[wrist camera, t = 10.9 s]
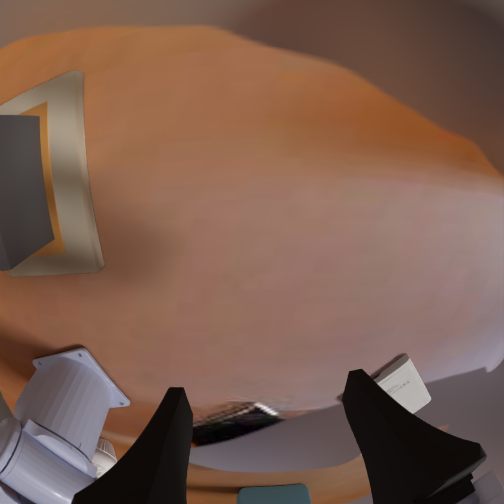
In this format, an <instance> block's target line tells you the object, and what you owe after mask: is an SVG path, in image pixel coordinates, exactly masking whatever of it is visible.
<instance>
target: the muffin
mask: <svg viewBox="0 0 504 504" xmlns="http://www.w3.org/2000/svg"><path fill="white" fill-rule="evenodd" d="M116 463H117V459H116V455H115V452H114V449H113V446H112V444H111V443H110V442H109V441H107V440H106V439H103V438H101V437H99V440H98V443H97V446H96V449H95V453H94V456H93V459H92V463H91V464H92V465H94V466H95V467H97V468H98V469H97V473H96V477H98V478H99V477H101V476H102V475H103V474H104V473H106V472H107V471H108V470H109V469H110V468H111V467H113V466H114V465H115V464H116Z"/></svg>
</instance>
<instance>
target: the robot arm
mask: <svg viewBox="0 0 504 504" xmlns="http://www.w3.org/2000/svg"><path fill="white" fill-rule="evenodd" d="M32 363H33V365H34V366H35V367H36V369H37V370H36V371H35V373H34V374H33V376H32V377H31V379H30V380H29V382H28V384H27V385H26V387H25V388H24V390H23V392H22V393H21V395H20V397H19V398H18V400H17V402H16V404H15V408H14V418H6V419H4V420H3V421H2V422H1V423H0V504H187V502H186V479H187V469H188V462H189V455H190V448H191V441H192V430H193V413H192V411H191V408H190V405H189V402H188V399H187V396H186V393H185V390H184V387H170V388H169V389H168V390H167V392H166V394H165V396H164V398H163V400H162V402H161V403H160V405H159V407H158V409H157V410H156V412H155V414H154V415H153V417H152V418H151V420H150V422H149V423H148V425H147V426H146V428H145V429H144V430H143V432H142V433H141V435H140V436H139V437H138V439H137V440H136V441H135V443H134V444H133V445H132V446H131V448H130V449H129V450H128V451H127V452H126V453H125V454H124V456H123V457H122V458H121V459H120V460H119V461H118V462H117V463H116V464H115V465H114V466H113V467H111V468H110V469H109V470H108V471H107V472H106V473H104V474H103V475H102V476H101V477H99V478H98V477H96V473H97V469H98V468H97V467H95V466H94V465H92V464H91V463H92V459H93V456H94V453H95V449H96V446H97V443H98V440H99V437H100V434H101V431H102V428H103V425H104V422H105V419H106V416H107V413H108V410H109V408H113V407H123V406H129V405H130V401H129V399H128V398H127V397H126V396H125V395H124V394H123V393H122V392H121V391H120V390H119V389H118V387H117V386H116V385H115V384H114V383H113V382H112V381H111V379H110V378H109V377H108V376H107V375H106V373H105V372H104V371H103V370H102V369H101V367H100V366H99V365H98V364H97V362H96V361H95V360H94V359H93V357H92V356H91V355H90V353H89V352H88V351H87V350H86V349H85V348H78V349H74V350H70V351H66V352H62V353H58V354H54V355H50V356H46V357H42V358H37V359H34V360H33V361H32ZM342 401H343V405H344V409H345V413H346V416H347V419H348V422H349V424H350V427H351V429H352V431H353V434H354V436H355V438H356V441H357V444H358V446H359V448H360V451H361V453H362V456H363V459H364V462H365V466H366V470H367V474H368V478H369V482H370V487H371V492H372V498H373V504H504V488H503V485H502V483H501V481H500V480H499V478H498V476H497V474H496V472H495V470H494V469H491V470H490V471H489V472H488V473H486V474H485V475H484V476H482V477H481V478H480V479H478V480H477V481H475V482H474V483H473V484H472V482H471V479H473V476H472V474H471V473H472V472H473V471H474V470H475V469H476V468H477V467H478V466H479V465H480V464H481V463H483V461H485V459H486V457H487V455H486V454H485V452H484V450H483V449H482V447H481V445H480V444H479V443H476V442H472V441H468V440H464V439H461V438H458V437H456V436H453V435H450V434H448V433H446V432H444V431H441V430H439V429H437V428H435V427H433V426H431V425H430V424H428V423H426V422H424V421H423V420H421V419H420V418H418V417H417V416H415V415H414V414H412V413H411V412H409V411H408V410H407V409H406V408H404V407H403V406H402V405H400V404H399V403H398V402H397V401H396V400H395V399H393V398H392V397H391V396H390V395H389V394H388V393H387V392H385V391H384V390H383V389H382V388H381V387H380V386H379V385H378V384H377V383H376V382H375V381H374V380H373V379H372V378H371V377H370V376H369V375H368V374H367V373H366V372H365V371H364V370H362V369H358V370H353V371H349V374H348V378H347V382H346V386H345V390H344V394H343V397H342Z"/></svg>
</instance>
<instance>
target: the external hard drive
mask: <svg viewBox="0 0 504 504" xmlns="http://www.w3.org/2000/svg"><path fill="white" fill-rule="evenodd" d="M373 380H374V381H375V382H376V383H377V384H378V385H379V386H380V387H381V388H382V389H383V390H384V391H385V392H387V393H388V394H389V395H390V396H391V397H392V398H393V399H395V400H396V401H397V402H398V403H399V404H400V405H402V406H403V407H404V408H406V409H407V410H408V411H409V412H411V413H412V414H413V413H415V412H416V411H417V410H419V409H420V408H422V407H423V406H424V405H426V404H427V403H428V402H429V401H430V400H431V397H430V395H429V393H428V391H427V389H426V387H425V385H424V383H423V381H422V380H421V378H420V376H419V374H418V372H417V370H416V368H415V367H414V365H413V363H412V361H411V360H410V358H409V356H408V355H407V354H405V355H404V356H402V357H401V358H400V359H399V360H397V361H396V362H395V363H393V364H392V365H390V366H389V367H388V368H386V369H385V370H384V371H382V372H381V373H380V374H379V375H378V376H377V377H375V378H374V379H373Z"/></svg>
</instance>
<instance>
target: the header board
mask: <svg viewBox="0 0 504 504" xmlns="http://www.w3.org/2000/svg"><path fill="white" fill-rule="evenodd" d="M0 115H28V116H40V142H41V156H42V167H43V176H44V183H45V191H46V197H47V203H48V209H49V214H50V219H51V224H52V229H53V234H54V238H55V240H53V241H52V242H50V243H48V244H47V245H45V246H44V247H42V248H41V249H39V250H38V251H37V252H35V253H34V254H32V255H31V256H29V257H28V258H27V259H25V260H24V261H22V262H21V263H20V264H18V265H17V266H15V267H14V268H13V269H11V270H8V272H9V275H10V277H21V276H42V275H62V274H80V273H98V272H99V271H100V270H101V269H102V268H103V267H104V266H105V264H104V260H103V255H102V251H101V247H100V242H99V237H98V233H97V228H96V222H95V217H94V211H93V205H92V199H91V192H90V185H89V177H88V169H87V159H86V147H85V132H84V73H83V72H81V71H78V70H76V69H75V70H73V71H70V72H68V73H65V74H63V75H60V76H58V77H56V78H53V79H51V80H49V81H47V82H44V83H42V84H40V85H38V86H36V87H34V88H32V89H30V90H28V91H26V92H24V93H22V94H20V95H18V96H17V97H15V98H13V99H11V100H9V101H8V102H6V103H4V104H3V105H1V106H0Z"/></svg>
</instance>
